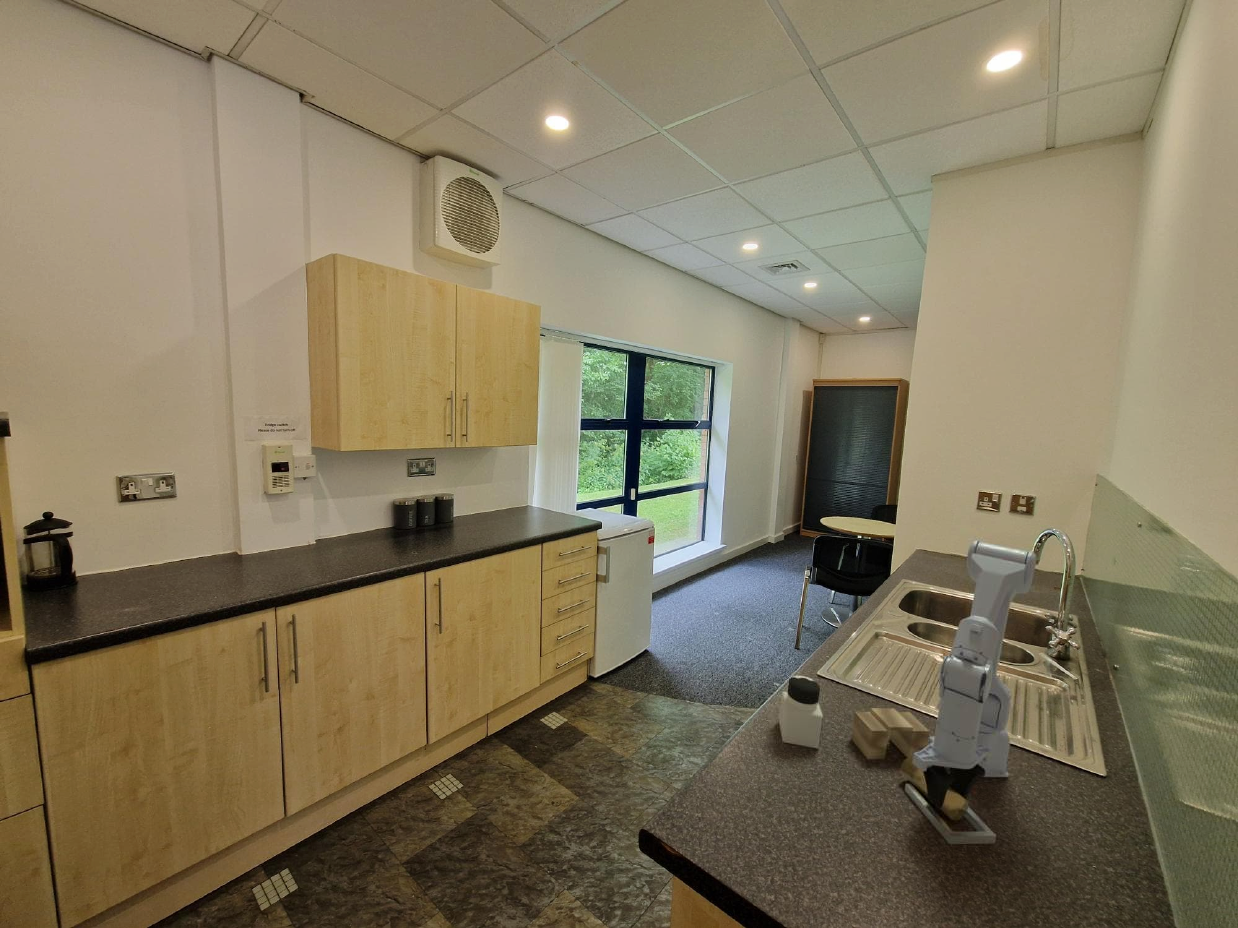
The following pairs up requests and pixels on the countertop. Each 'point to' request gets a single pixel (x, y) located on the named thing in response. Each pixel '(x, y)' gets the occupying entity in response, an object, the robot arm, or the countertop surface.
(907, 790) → the cradle
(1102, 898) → the countertop surface
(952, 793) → the axle
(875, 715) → the wooden stepped block
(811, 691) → the medicine bottle
